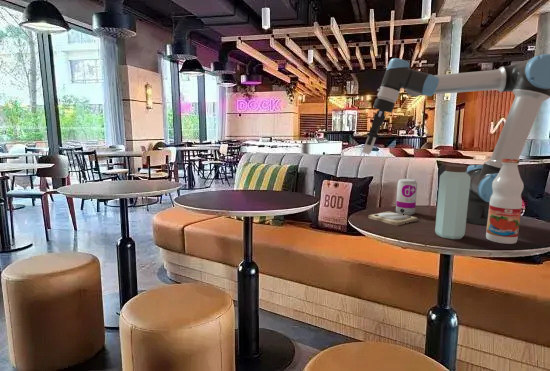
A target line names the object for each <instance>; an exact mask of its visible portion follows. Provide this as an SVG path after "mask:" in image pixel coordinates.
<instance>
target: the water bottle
mask: <svg viewBox="0 0 550 371" xmlns="http://www.w3.org/2000/svg"><path fill="white" fill-rule="evenodd" d="M467 168H468V166H467V165H463V164H461V165H460V164H446V165H445V168H444V169H445V170H444V171H443V172H442V173H441V174H440V175H439V181H438V182H439V184H438V192H437V194H438V195H437V205H436V215H435V216H436V217H435V226H434V227H435V229H434V232H435V234H436V235H437V236H438V237H441V238H444V239H450V240H461V239H462V238H463V237H464V236H465V234H466V227H467V226H466V225H467V222H466V218H467V208H468V198H469V189H470V179H471V177H470V176H469V175H468V174H467Z"/></svg>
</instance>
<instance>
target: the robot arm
mask: <svg viewBox="0 0 550 371" xmlns="http://www.w3.org/2000/svg"><path fill="white" fill-rule="evenodd" d="M388 62H389V63H388V65H387V67H386V70H385V73H384V74H383V75H384V76H383V78H382V81H381V84H380V86H379V88H377V90H376V91H377V92H378V93H377V94H376V95H377V96H376V97H377V98H375V101H374V103H373V108H374V109H376V110H377V111H376V113H374V116H373V120H372V125H371V127H370V129H369V131H368V132H367V133H366V136H367V138H366V140H365V143H364V146H363V149H362V151H361V152H362V153H364V154H367V155H370V154H371V153H372V151H373V148H374V145H375V142H376V139H378V138H379V135H378V133H379V131H380V129H381V126H382V125H383V123H384V121H385V119H386V116H385V112H386V113H390V114H391V113H393V110H394V109H395V108H394V107H395V105H396V102H397V101H398V97H399V95H400V93H401V92H400V91H401V89H404V90H405V91H406V93H407V95H408V96H410V97H419V96H427V97H432V96H434V95H440V94H456V93H467V92H468V93H469V92H479V91H498V92H499V93H504V92H505V93H506V92H507V93H508V92H509V93H510V92H511V93H513V95H514V99H513V101H512V104H511V107H510V108H509V112H508V114H507V116H506V119H505V121H504V124H503V127H502V129H501V131H500V134H499V137H498V139H497V142H496V144H495V147H494V148H493V151H492V154H491V157H490V159H488V160H487V161H485V162H483V164H473V165H472V164H471V165H468V166H467V167H466V172H467V174H468V175H469V176H470V177H471V179H470V189H469V198H468V208H467V218H466V223H468V224H469V223H470V224H475V225H483V226H484V225H485V226H487V221H488V212H489V202H490V197H491V195H492V193H493V190H492V182H493V180H494V179H495V178H496V177H497V175H498V173H499V171H500V169H501V167H502V165H503V164H502V159H518V160H519V161H520V157H521V155H522V152H523V150H524V147H525V145H526V143H527V140H528V137H529V135H530V132H531V130H532V128H533V127H534V126H533V125H534V123H535V121H536V119H537V116H538V114H539V111H540V108H541V106H542V104H543V103H544V102H545V101H547V100H548V99H550V53H545V54H537V55H535V56H533V57H532V58H531V57H530V59H529V58H528V59H526V60H523V61H521V62H519V63H515V64H511V65H505V66H504V65H503V66H500V67H499V68H497V69H491V70H481V71H479V70H478V71H469V72H457V73H447V74H434V75H433V74H431V73H427V72H423V71H420V70H415V69H412V68H410V62H409V61H408V60H405V59H402V58H397V57H394V58H391V59H390V60H389V61H388Z"/></svg>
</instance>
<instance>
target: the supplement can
mask: <svg viewBox="0 0 550 371" xmlns="http://www.w3.org/2000/svg"><path fill="white" fill-rule="evenodd" d="M396 186H397V189H396V202H395V203H396V204H395V213H398V214H404V215H407V216H412V215H414V214H415V213H416V205H417V204H416V203H417V195H418V193H417V192H418V182H417V180H416V179H413V178H399V180H398V182H397V185H396Z"/></svg>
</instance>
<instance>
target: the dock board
mask: <svg viewBox="0 0 550 371" xmlns="http://www.w3.org/2000/svg"><path fill="white" fill-rule="evenodd" d="M367 219H369V220H374V221H377V222H381V223H384V224H388V225H389V224H390V225H393V226H401V225H405V223H406V224H409V222H410V223H413V222H418V217H417V216H412V215H403V214H399V213H397V212H393V211H389V210H388V211H383V212H379V213H374V214H373V213H372V214H368V215H367Z"/></svg>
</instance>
